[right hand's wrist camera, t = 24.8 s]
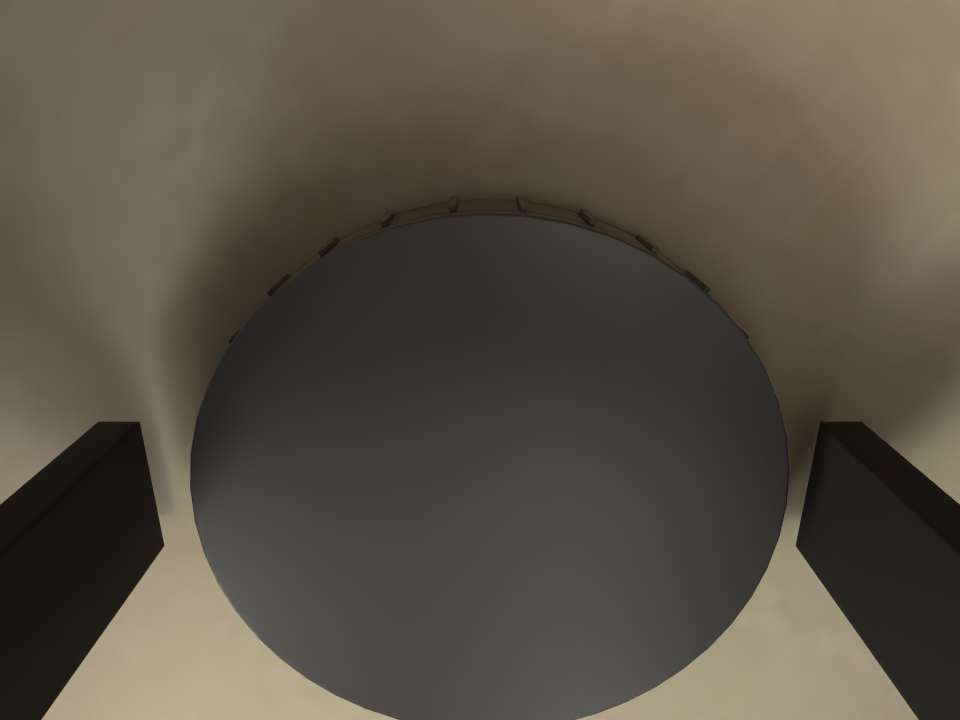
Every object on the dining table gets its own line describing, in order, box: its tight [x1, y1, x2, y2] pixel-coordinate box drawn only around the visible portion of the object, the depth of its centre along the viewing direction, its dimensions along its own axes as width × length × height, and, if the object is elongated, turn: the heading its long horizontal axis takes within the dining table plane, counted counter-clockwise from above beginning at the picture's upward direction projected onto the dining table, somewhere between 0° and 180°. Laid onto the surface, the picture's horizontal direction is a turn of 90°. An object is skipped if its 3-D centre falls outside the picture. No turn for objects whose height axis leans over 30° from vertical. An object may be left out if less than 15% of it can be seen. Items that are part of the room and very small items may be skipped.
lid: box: [190, 196, 789, 720], centre depth 13 cm, size 11×11×2 cm
